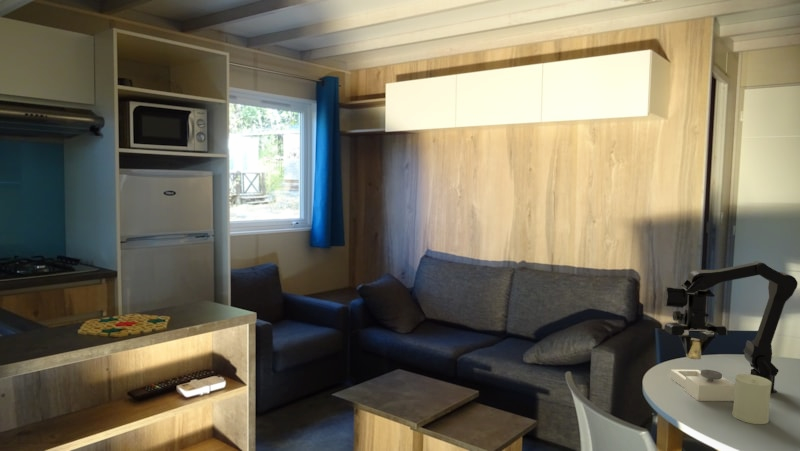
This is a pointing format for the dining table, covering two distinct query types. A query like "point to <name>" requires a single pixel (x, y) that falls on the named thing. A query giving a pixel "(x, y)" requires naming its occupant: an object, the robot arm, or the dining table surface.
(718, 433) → the dining table surface
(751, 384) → the can
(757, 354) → the robot arm
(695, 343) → the brass cylinder
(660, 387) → the dining table surface
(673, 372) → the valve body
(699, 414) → the dining table surface
